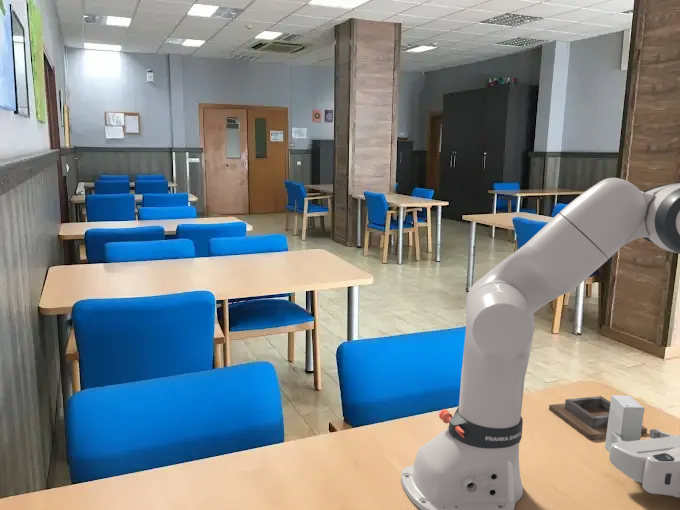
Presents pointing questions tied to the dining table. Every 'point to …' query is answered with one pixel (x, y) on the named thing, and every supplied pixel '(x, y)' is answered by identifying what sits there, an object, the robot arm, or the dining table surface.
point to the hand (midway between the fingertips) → (633, 434)
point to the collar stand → (586, 416)
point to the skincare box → (624, 419)
